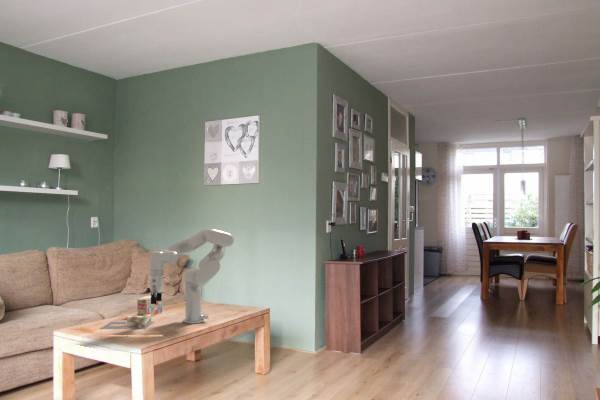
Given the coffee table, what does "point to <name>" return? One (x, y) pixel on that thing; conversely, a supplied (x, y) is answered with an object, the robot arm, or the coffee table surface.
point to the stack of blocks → (148, 306)
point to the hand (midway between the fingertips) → (156, 302)
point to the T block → (139, 320)
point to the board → (121, 326)
